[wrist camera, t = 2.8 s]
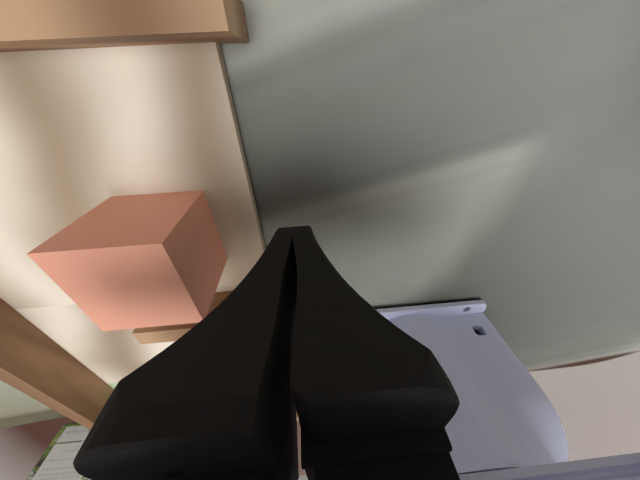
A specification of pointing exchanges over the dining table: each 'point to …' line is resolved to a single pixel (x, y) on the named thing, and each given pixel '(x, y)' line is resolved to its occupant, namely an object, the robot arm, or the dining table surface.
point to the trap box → (108, 168)
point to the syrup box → (61, 455)
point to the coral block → (139, 260)
